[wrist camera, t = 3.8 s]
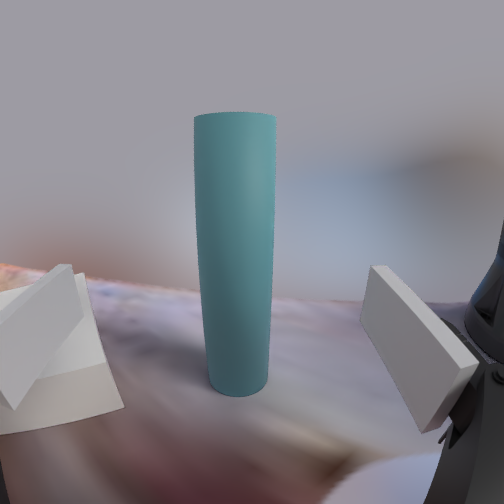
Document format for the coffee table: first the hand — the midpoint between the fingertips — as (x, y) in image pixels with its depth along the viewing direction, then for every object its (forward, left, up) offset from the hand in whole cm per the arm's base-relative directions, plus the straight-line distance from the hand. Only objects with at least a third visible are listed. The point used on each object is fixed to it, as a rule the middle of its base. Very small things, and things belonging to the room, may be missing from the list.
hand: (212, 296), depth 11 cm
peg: (+4, -4, -10) cm, 12 cm away
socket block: (+13, +13, -10) cm, 21 cm away
